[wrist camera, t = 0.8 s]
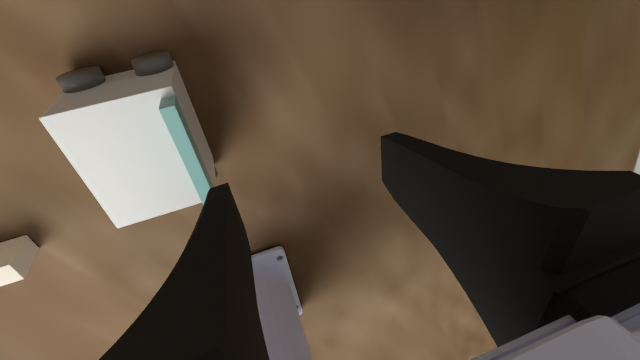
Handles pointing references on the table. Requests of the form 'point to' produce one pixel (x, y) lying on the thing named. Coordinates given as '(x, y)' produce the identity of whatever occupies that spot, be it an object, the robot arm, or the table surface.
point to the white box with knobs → (133, 138)
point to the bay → (16, 259)
